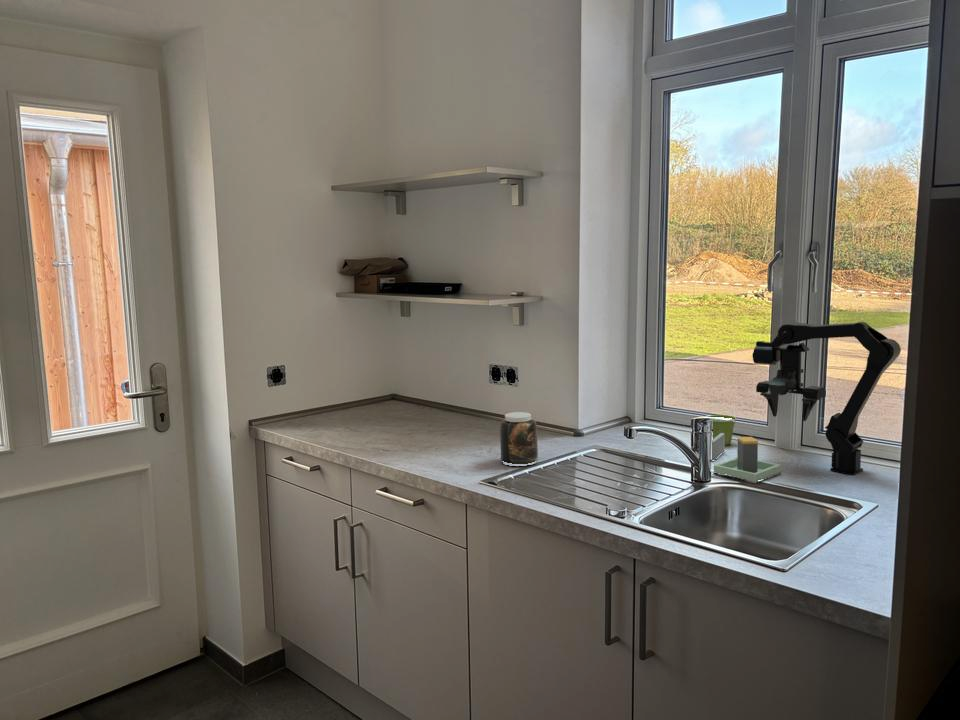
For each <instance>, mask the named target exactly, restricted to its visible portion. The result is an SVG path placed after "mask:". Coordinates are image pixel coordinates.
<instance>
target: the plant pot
mask: <svg viewBox="0 0 960 720" xmlns="http://www.w3.org/2000/svg"><path fill="white" fill-rule="evenodd" d="M707 417H724V418H732V419H734V420H735V422H733V421H713V439H714V438H715V437H716V436H718V435H719V434H720V433H725V445H726V446H729V444H730V445H732V439H733V434H734V428H735V424H736V421H737V417H736V416H733V415H727V414H712V415H708V416H707Z"/></svg>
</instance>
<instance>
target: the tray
mask: <svg viewBox="0 0 960 720" xmlns="http://www.w3.org/2000/svg"><path fill="white" fill-rule="evenodd" d="M714 472H716V473H720V474H727V475H731V476H733V477H737V478H741V479H746V480H747V481H746V483H747V482H748V483H751V484H757V483H756V481H758V480H761V479H765V478H768V477H771V476H773V475H776V476H778V475H780V473H781V474H782V464H778V463H774V462H770V461H763V460H760V459H758V464H757V472H756V473H752V472H747V471H743V470H738V469H737V457H734V458H731V459H729V460H724V461H722V462H719V463H716V464H713V473H714ZM777 474H778V475H777ZM773 477H774V476H773ZM771 478H772V477H771ZM768 479H769V478H768Z"/></svg>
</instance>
